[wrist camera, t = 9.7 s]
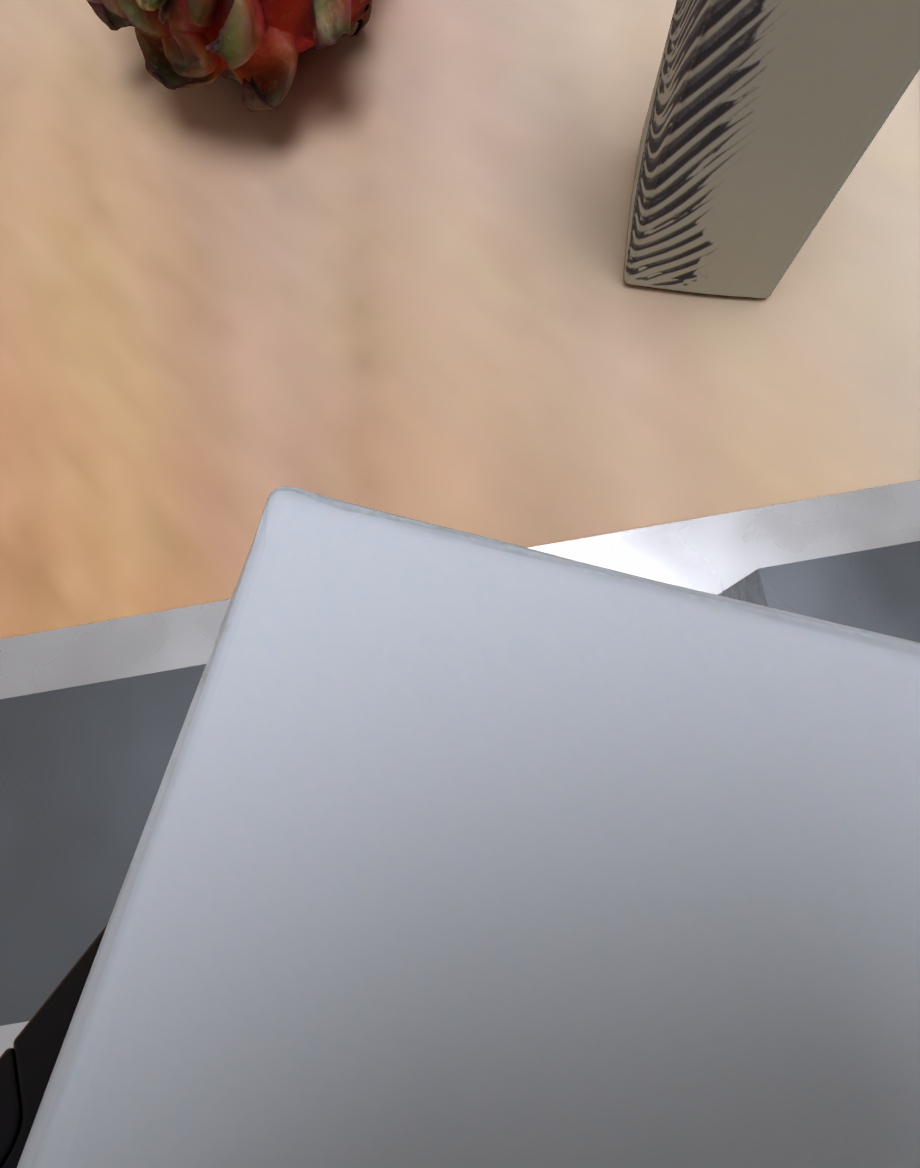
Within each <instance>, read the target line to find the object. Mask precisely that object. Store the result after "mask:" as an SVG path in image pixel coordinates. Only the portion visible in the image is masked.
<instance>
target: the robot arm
mask: <svg viewBox="0 0 920 1168" xmlns="http://www.w3.org/2000/svg"><path fill="white" fill-rule="evenodd" d="M107 925H108V924H107ZM107 925H106V926H105V927H104V929H103V930H102V931H101V932H100V934H99V935H98V936H97V937H96V939H95V940H94V941H93V942H92V944H91V945H90V946H89V947H88V949H87V950H86V951H85V952H84V954H83V955H82V956H81V957H80V959H79V960H78V961H77V962H76V964H75V965H74V966H73V967H72V968H71V970H70V971H69V972H68V973H67V975H66V976H65V977H64V978H63V980H62V981H61V982H60V983H59V985H58V986H57V987H56V988H55V990H54V991H53V992H52V993H51V995H50V996H49V997H48V998H47V1000H46V1001H45V1002H44V1003H43V1005H42V1006H41V1007H40V1008H39V1010H38V1011H37V1012H36V1013H35V1015H34V1016H33V1017H32V1018H31V1020H30V1021H29V1022H28V1023H27V1025H26V1026H25V1027H24V1028H23V1030H22V1031H21V1032H20V1033H19V1035H18V1036H17V1037H16V1038H15V1040H14V1042H13V1047H14V1048H8V1049H7V1050H5V1052H4V1053H3V1054H2V1055H1V1057H0V1168H17V1166H18V1163H19V1160H20V1158H21V1155H22V1152H23V1149H24V1147H25V1144H26V1141H27V1139H28V1136H29V1133H30V1131H31V1128H32V1125H33V1123H34V1120H35V1117H36V1114H37V1112H38V1109H39V1106H40V1104H41V1101H42V1098H43V1096H44V1093H45V1090H46V1088H47V1085H48V1082H49V1080H50V1077H51V1074H52V1072H53V1069H54V1066H55V1064H56V1061H57V1058H58V1056H59V1053H60V1050H61V1047H62V1045H63V1042H64V1039H65V1037H66V1034H67V1031H68V1029H69V1026H70V1023H71V1021H72V1018H73V1015H74V1013H75V1010H76V1007H77V1005H78V1002H79V999H80V997H81V994H82V991H83V989H84V986H85V983H86V981H87V978H88V975H89V973H90V970H91V967H92V964H93V962H94V959H95V956H96V954H97V951H98V948H99V946H100V943H101V940H102V938H103V935H104V932H105V930H106V927H107Z"/></svg>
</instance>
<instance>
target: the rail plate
mask: <svg viewBox="0 0 920 1168" xmlns="http://www.w3.org/2000/svg"><path fill="white" fill-rule="evenodd" d="M529 549H533V550H537V551H541V552H545V553H548V554H552V555H556V556H560V557H564V558H568V559H572V560H575V561H580V562H584V563H588V564H592V565H596V566H600V567H604V568H608V569H612V570H616V571H620V572H624V573H628V574H632V575H636V576H640V577H644V578H648V579H652V580H656V581H660V582H664V583H668V584H672V585H677V586H681V587H685V588H689V589H694V590H698V591H702V592H706V593H711V594H715V595H719V596H723V597H728V598H732V599H736V600H741V601H745V602H749V603H753V604H758V605H762V606H766V607H770V608H775V609H779V610H783V611H787V612H792V613H796V614H800V615H804V616H809V617H813V618H817V619H821V620H826V621H830V622H834V623H838V624H843V625H847V626H851V627H855V628H860V629H864V630H868V631H872V632H877V633H881V634H885V635H889V636H894V637H898V638H902V639H906V640H910V641H914V642H918V643H920V480H916V481H911V482H905V483H899V484H893V485H888V486H882V487H876V488H870V489H864V490H859V491H853V492H847V493H841V494H836V495H830V496H824V497H818V498H812V499H807V500H801V501H795V502H789V503H784V504H778V505H772V506H766V507H761V508H755V509H749V510H743V511H737V512H732V513H726V514H720V515H714V516H709V517H703V518H697V519H691V520H686V521H680V522H674V523H668V524H662V525H657V526H651V527H645V528H639V529H634V530H628V531H622V532H616V533H610V534H605V535H599V536H593V537H587V538H582V539H576V540H570V541H564V542H559V543H553V544H547V545H541V546H535V547H530V548H529ZM230 601H231V599H230V600H224V601H218V602H212V603H206V604H201V605H195V606H189V607H183V608H178V609H172V610H166V611H160V612H155V613H149V614H143V615H137V616H131V617H126V618H120V619H114V620H108V621H103V622H97V623H91V624H85V625H79V626H74V627H68V628H62V629H56V630H51V631H45V632H39V633H33V634H28V635H22V636H16V637H10V638H4V639H0V1057H1V1055H2V1054H3V1053H4V1052H5V1050H7V1049H8V1048H14V1047H13V1042H14V1040H15V1038H16V1037H17V1036H18V1035H19V1033H20V1032H21V1031H22V1030H23V1028H24V1027H25V1026H26V1025H27V1023H28V1022H29V1021H30V1020H31V1018H32V1017H33V1016H34V1015H35V1013H36V1012H37V1011H38V1010H39V1008H40V1007H41V1006H42V1005H43V1003H44V1002H45V1001H46V1000H47V998H48V997H49V996H50V995H51V993H52V992H53V991H54V990H55V988H56V987H57V986H58V985H59V983H60V982H61V981H62V980H63V978H64V977H65V976H66V975H67V973H68V972H69V971H70V970H71V968H72V967H73V966H74V965H75V964H76V962H77V961H78V960H79V959H80V957H81V956H82V955H83V954H84V952H85V951H86V950H87V949H88V947H89V946H90V945H91V944H92V942H93V941H94V940H95V939H96V937H97V936H98V935H99V934H100V932H101V931H102V930H103V929H104V927H105V926H106V925H107V924H108V922H109V919H110V917H111V914H112V912H113V909H114V906H115V904H116V901H117V898H118V896H119V893H120V891H121V888H122V885H123V883H124V880H125V877H126V875H127V872H128V870H129V867H130V864H131V862H132V859H133V857H134V854H135V851H136V849H137V846H138V843H139V841H140V838H141V835H142V833H143V830H144V827H145V825H146V822H147V819H148V817H149V814H150V811H151V809H152V806H153V803H154V801H155V798H156V795H157V793H158V790H159V787H160V785H161V782H162V779H163V777H164V774H165V771H166V769H167V766H168V763H169V761H170V758H171V755H172V753H173V750H174V747H175V745H176V742H177V740H178V737H179V734H180V732H181V729H182V726H183V724H184V721H185V719H186V716H187V713H188V711H189V708H190V705H191V703H192V700H193V698H194V695H195V692H196V690H197V687H198V684H199V682H200V679H201V677H202V674H203V671H204V669H205V666H206V663H207V661H208V658H209V656H210V653H211V650H212V648H213V645H214V642H215V640H216V637H217V635H218V632H219V629H220V627H221V624H222V621H223V619H224V616H225V614H226V611H227V608H228V606H229V603H230Z"/></svg>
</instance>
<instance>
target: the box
mask: <svg viewBox="0 0 920 1168" xmlns="http://www.w3.org/2000/svg"><path fill="white" fill-rule="evenodd" d="M919 69H920V0H677V2H676V6H675V10H674V13H673V17H672V21H671V25H670V29H669V33H668V37H667V40H666V44H665V48H664V52H663V56H662V60H661V63H660V67H659V71H658V75H657V79H656V82H655V86H654V90H653V94H652V97H651V101H650V105H649V109H648V112H647V116H646V120H645V124H644V128H643V132H642V137H641V141H640V147H639V153H638V160H637V166H636V173H635V180H634V186H633V193H632V200H631V208H630V216H629V225H628V237H627V247H626V258H625V270H624V280H625V282H626V283H627V284H631V285H639V286H646V287H653V288H662V289H669V290H676V291H685V292H693V293H702V294H713V295H725V296H739V297H752V298H766V297H769V296H770V295H771V293H772V292H773V290H774V289H775V287H776V286H777V284H778V282H779V281H780V279H781V278H782V276H783V275H784V273H785V272H786V270H787V269H788V267H789V266H790V264H791V263H792V261H793V260H794V258H795V257H796V255H797V253H798V252H799V250H800V249H801V247H802V246H803V244H804V243H805V241H806V240H807V238H808V237H809V235H810V234H811V232H812V231H813V229H814V228H815V226H816V225H817V223H818V222H819V220H820V219H821V217H822V216H823V214H824V212H825V211H826V209H827V208H828V206H829V205H830V203H831V202H832V200H833V199H834V197H835V196H836V194H837V193H838V191H839V190H840V188H841V187H842V185H843V184H844V182H845V181H846V179H847V178H848V176H849V175H850V173H851V172H852V170H853V169H854V167H855V166H856V164H857V163H858V161H859V160H860V158H861V157H862V155H863V154H864V152H865V151H866V149H867V148H868V146H869V145H870V143H871V142H872V140H873V139H874V137H875V136H876V134H877V133H878V131H879V130H880V128H881V127H882V125H883V124H884V122H885V121H886V119H887V118H888V116H889V115H890V113H891V112H892V110H893V109H894V107H895V106H896V104H897V103H898V101H899V99H900V98H901V96H902V95H903V93H904V92H905V90H906V89H907V87H908V86H909V84H910V83H911V81H912V80H913V78H914V77H915V75H916V74H917V72H918V71H919Z"/></svg>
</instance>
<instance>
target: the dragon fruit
mask: <svg viewBox="0 0 920 1168" xmlns="http://www.w3.org/2000/svg"><path fill="white" fill-rule="evenodd" d="M87 1H88V3H89V4H90V6H91V7H92V9H93V10H94V12H95V13H96V15H97V16H98V17H99V18H100V19H101V20H102V21H103V22H104V23H105V24H106V25H107V26H108V27H109V28H110V29H111V30H118V29H120V28H122V27H127V26H133V27H135V33H136V37H137V40H138V42H139V45H140V47H141V50H142V52H143V55H144V58H145V64H146V69H147V71H148V72H149V73H150V74H151V75H152V76H153V77H154V78H155V79H156V80H158V81H159V82H161V83H162V84H163V85H164V86H165V87H166V88H168V89H171V90H175V89H177V88H184V87H194V86H199V85H207V84H211V83H213V82H214V81H215V80H217V79H218V78H219V77H220V75H221V74H223V78H229V79H234V80H236V81H239V82H240V84H241V86H242V92H243V103H244V105H245V106H246V107H247V108H248V110H250V111H251V112H252V111H255V110H266V109H270V108H273V109H274V108H276V107H277V106H278V104H279V103H281V102H282V101H283V100H284V98H285V97H286V95H287V93H288V91H289V89H290V88H291V86H292V83H293V80H294V77H295V74H296V69H297V62H298V55H299V53H300V52H303V51H305V50H307V49H309V48H311V47H312V46H315V49H323V48H326V46H331V45H333V44H336V43H337V41H338V40H339V39H340V38H341V37H345V36H349V35H350V30H351V27H352V26H353V25H354V24H355V23H356V22H358V27H357V29H356V31H355V33H354V34H353V36H358V35H359V34H360V32H361V30H362V29H363V27H364V26H365V24H366V23H367V22H368V20H369V17H370V13H371V8H372V7H371V3H372V0H87ZM353 36H351V37H353Z"/></svg>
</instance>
